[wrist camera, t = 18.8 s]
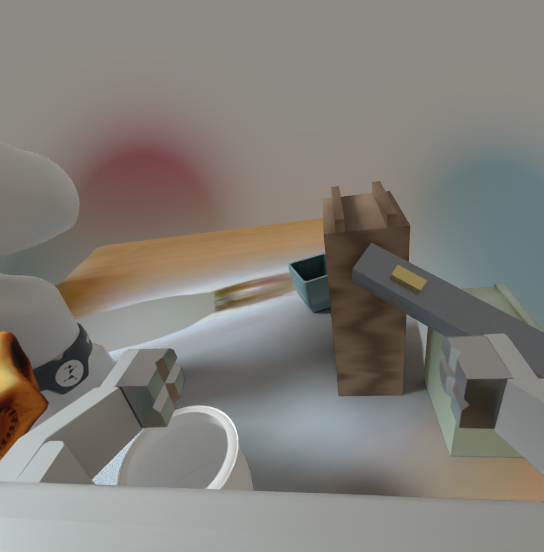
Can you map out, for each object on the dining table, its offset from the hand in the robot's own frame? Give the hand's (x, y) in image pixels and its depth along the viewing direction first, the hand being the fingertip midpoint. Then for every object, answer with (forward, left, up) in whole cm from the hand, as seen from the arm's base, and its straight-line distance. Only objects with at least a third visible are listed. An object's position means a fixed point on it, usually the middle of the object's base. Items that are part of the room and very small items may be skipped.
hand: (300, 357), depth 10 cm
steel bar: (+2, +24, -16) cm, 29 cm away
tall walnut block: (-10, +32, -34) cm, 48 cm away
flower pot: (-24, +45, -34) cm, 61 cm away
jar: (-16, +2, -34) cm, 38 cm away
